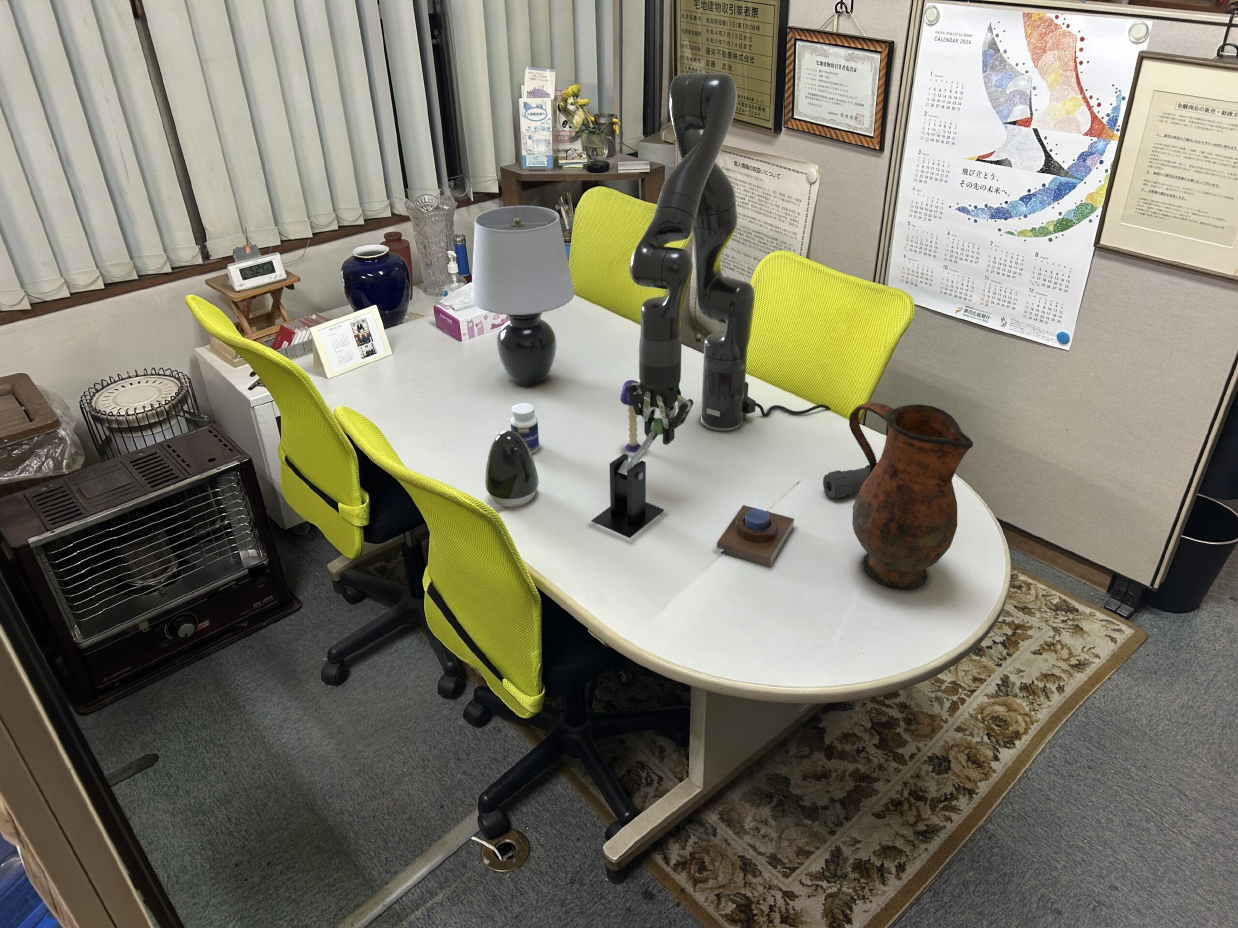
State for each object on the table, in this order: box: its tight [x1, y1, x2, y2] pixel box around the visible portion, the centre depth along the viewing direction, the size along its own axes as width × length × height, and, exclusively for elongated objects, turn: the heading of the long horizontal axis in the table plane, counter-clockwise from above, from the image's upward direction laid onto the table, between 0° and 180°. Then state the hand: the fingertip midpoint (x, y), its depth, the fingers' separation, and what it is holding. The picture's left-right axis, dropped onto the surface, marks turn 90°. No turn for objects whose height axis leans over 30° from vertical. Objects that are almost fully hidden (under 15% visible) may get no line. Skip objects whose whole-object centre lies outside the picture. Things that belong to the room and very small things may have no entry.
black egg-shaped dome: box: [484, 430, 540, 508], centre depth 170 cm, size 10×10×15 cm
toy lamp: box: [619, 379, 642, 453], centre depth 184 cm, size 5×5×17 cm
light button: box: [745, 508, 770, 530], centre depth 159 cm, size 4×4×2 cm
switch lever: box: [617, 417, 664, 481], centre depth 164 cm, size 14×3×3 cm, turn 142°
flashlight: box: [822, 464, 870, 499], centre depth 174 cm, size 15×5×5 cm, turn 108°
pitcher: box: [848, 402, 974, 591], centre depth 147 cm, size 17×21×30 cm
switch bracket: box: [591, 453, 665, 539], centre depth 164 cm, size 11×9×13 cm
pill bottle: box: [510, 402, 540, 455], centre depth 188 cm, size 6×6×10 cm
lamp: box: [470, 205, 575, 388], centre depth 208 cm, size 24×24×40 cm
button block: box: [716, 504, 795, 568], centre depth 161 cm, size 13×10×4 cm
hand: (659, 439), depth 167 cm, fingers closed on switch lever, 3 cm apart
